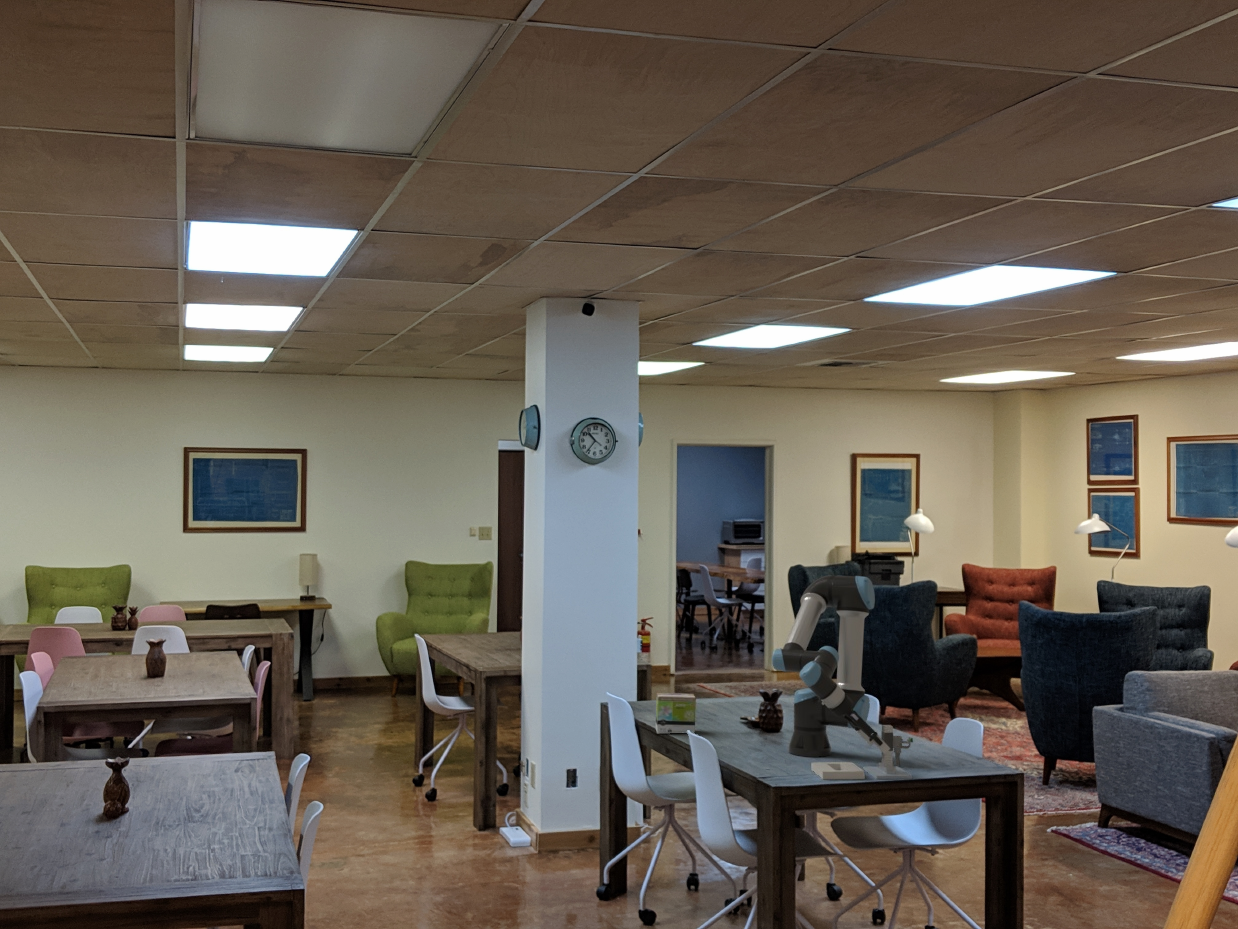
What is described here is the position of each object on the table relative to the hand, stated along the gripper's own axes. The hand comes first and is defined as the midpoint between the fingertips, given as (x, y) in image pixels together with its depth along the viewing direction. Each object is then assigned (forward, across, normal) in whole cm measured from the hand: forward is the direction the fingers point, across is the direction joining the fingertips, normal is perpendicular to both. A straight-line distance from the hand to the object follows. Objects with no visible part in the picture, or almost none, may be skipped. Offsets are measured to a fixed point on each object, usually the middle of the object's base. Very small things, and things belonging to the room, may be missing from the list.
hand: (880, 747), depth 386 cm
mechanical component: (+14, -13, +1) cm, 19 cm away
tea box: (-33, -78, -47) cm, 96 cm away
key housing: (-4, 0, -17) cm, 17 cm away
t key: (+8, 0, -4) cm, 8 cm away
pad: (+8, 0, -4) cm, 9 cm away
